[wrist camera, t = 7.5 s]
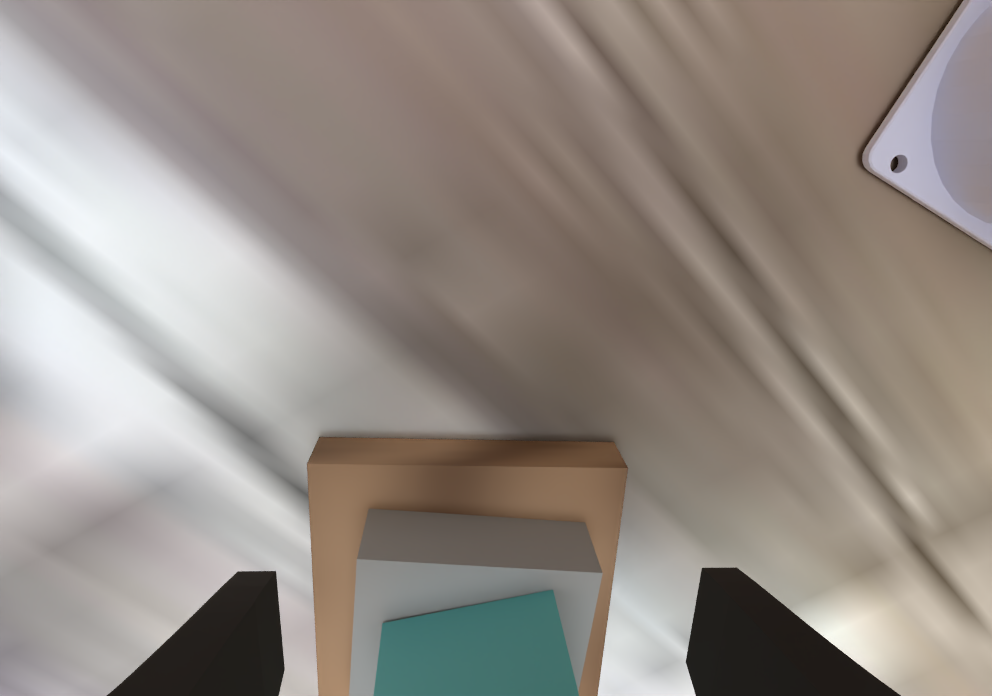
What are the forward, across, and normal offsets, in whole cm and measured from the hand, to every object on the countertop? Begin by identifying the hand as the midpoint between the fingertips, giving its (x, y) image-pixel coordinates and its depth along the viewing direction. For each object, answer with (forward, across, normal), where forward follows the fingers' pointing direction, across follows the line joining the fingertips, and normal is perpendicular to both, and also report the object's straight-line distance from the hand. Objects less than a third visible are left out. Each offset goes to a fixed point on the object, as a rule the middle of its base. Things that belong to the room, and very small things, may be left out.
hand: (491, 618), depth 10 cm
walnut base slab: (+11, 0, +7) cm, 13 cm away
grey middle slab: (+9, 0, +7) cm, 11 cm away
